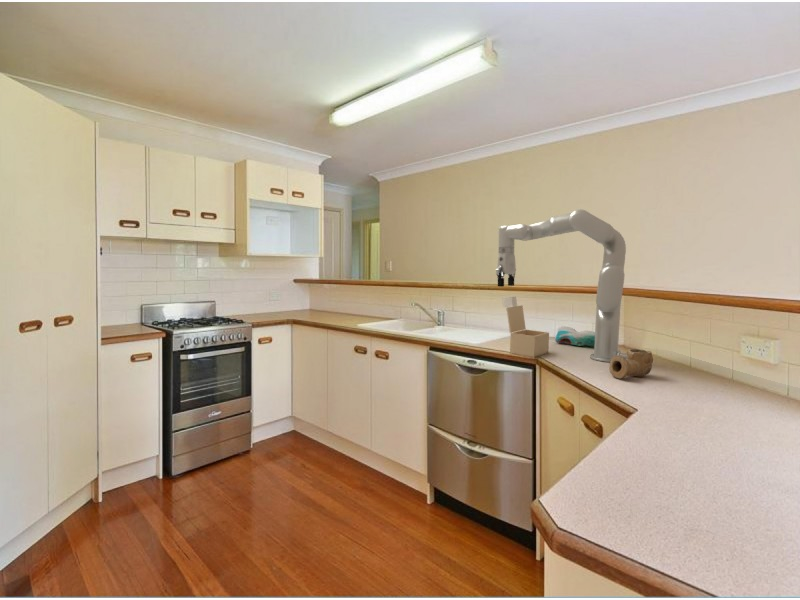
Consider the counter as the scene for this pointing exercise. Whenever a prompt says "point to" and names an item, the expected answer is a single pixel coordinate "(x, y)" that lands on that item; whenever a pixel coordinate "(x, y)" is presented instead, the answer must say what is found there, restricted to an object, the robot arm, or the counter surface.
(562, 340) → the athletic shoe
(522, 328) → the lid flap
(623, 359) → the pipe
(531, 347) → the carton
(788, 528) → the counter surface
